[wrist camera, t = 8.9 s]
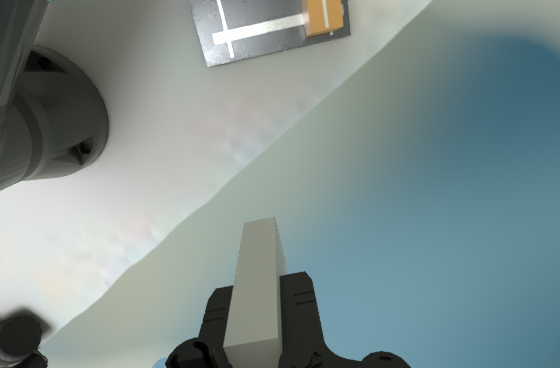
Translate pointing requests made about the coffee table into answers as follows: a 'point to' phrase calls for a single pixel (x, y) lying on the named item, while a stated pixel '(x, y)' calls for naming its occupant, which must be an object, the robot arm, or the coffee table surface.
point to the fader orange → (321, 16)
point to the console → (254, 28)
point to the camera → (21, 344)
